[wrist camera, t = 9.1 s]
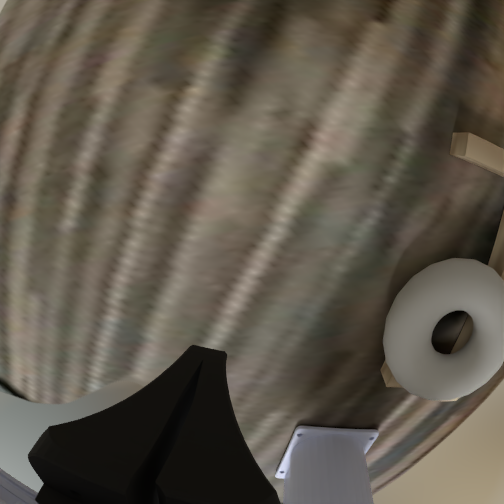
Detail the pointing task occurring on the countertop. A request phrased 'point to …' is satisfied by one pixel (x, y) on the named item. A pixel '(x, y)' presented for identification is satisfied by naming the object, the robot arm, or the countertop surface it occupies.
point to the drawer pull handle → (500, 259)
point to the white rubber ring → (427, 316)
